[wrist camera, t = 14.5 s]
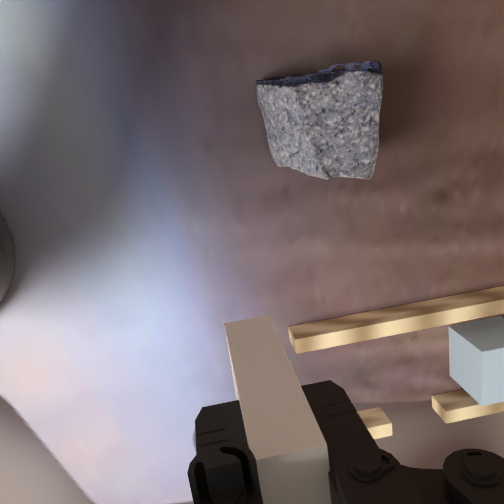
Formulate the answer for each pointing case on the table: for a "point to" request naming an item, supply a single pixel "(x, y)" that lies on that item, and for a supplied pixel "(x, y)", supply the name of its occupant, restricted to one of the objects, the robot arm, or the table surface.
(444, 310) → the channel
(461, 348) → the block
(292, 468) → the robot arm
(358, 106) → the stone
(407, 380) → the table surface
